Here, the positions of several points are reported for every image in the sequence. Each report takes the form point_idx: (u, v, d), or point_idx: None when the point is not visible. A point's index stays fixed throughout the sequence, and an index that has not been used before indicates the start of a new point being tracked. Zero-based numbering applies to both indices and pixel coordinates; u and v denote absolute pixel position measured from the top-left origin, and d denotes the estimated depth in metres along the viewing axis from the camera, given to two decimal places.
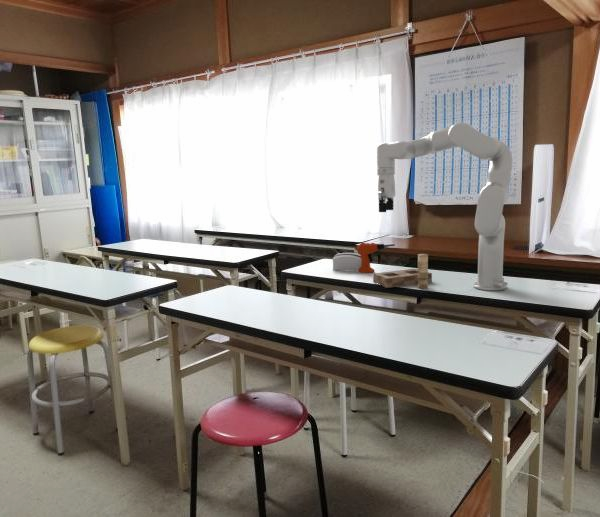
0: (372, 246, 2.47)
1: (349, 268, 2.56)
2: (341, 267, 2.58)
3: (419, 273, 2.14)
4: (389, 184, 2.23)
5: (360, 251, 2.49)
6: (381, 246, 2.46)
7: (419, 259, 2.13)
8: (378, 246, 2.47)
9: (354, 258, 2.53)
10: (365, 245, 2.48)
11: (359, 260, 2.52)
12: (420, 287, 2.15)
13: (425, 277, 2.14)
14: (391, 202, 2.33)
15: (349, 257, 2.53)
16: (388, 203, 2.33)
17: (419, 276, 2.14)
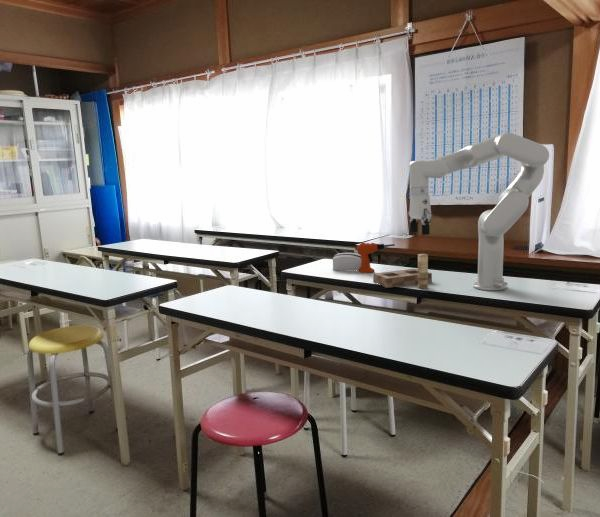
0: (372, 246, 2.47)
1: (349, 268, 2.57)
2: (341, 267, 2.58)
3: (419, 273, 2.14)
4: None
5: (360, 251, 2.49)
6: (381, 246, 2.47)
7: (419, 259, 2.13)
8: (378, 246, 2.47)
9: (354, 258, 2.53)
10: (365, 245, 2.48)
11: (359, 260, 2.52)
12: (420, 287, 2.15)
13: (425, 277, 2.14)
14: (416, 223, 2.18)
15: (349, 257, 2.53)
16: (413, 225, 2.18)
17: (419, 276, 2.14)
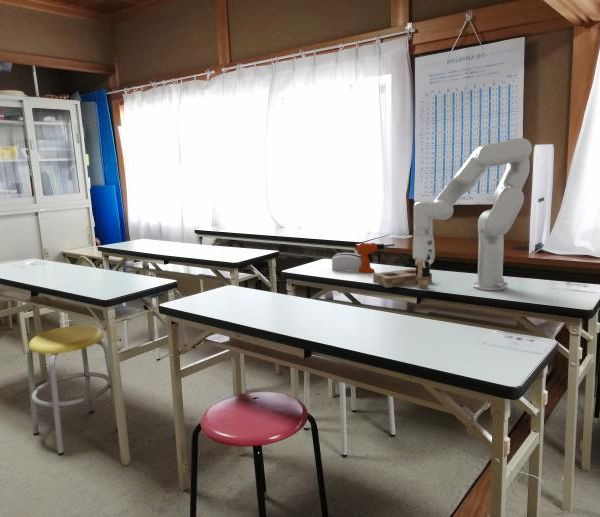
0: (372, 246, 2.47)
1: (348, 268, 2.57)
2: (340, 267, 2.58)
3: (419, 273, 2.14)
4: None
5: (360, 251, 2.49)
6: (381, 246, 2.47)
7: (419, 259, 2.13)
8: (378, 246, 2.47)
9: (353, 258, 2.53)
10: (365, 245, 2.48)
11: (358, 260, 2.52)
12: (420, 287, 2.15)
13: (425, 277, 2.14)
14: None
15: (348, 257, 2.54)
16: None
17: (419, 276, 2.14)
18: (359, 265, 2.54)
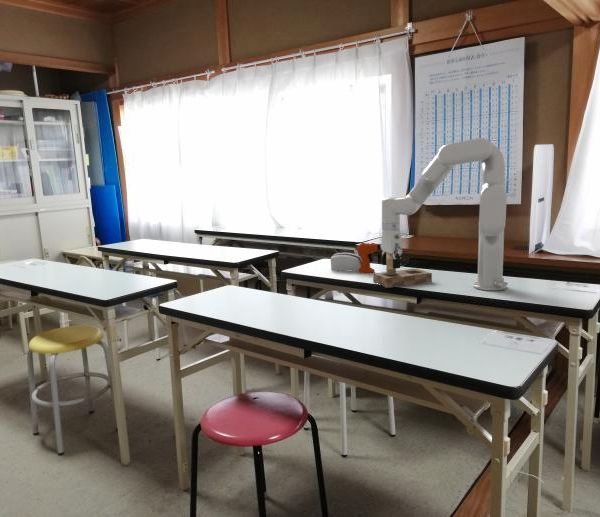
0: (372, 246, 2.47)
1: (346, 268, 2.57)
2: (338, 267, 2.59)
3: (387, 269, 2.24)
4: None
5: (360, 251, 2.49)
6: None
7: (387, 256, 2.23)
8: (378, 246, 2.47)
9: (351, 258, 2.53)
10: (365, 245, 2.48)
11: (355, 260, 2.52)
12: None
13: (393, 273, 2.23)
14: None
15: (346, 257, 2.54)
16: (385, 258, 2.28)
17: (387, 272, 2.24)
18: (357, 265, 2.53)
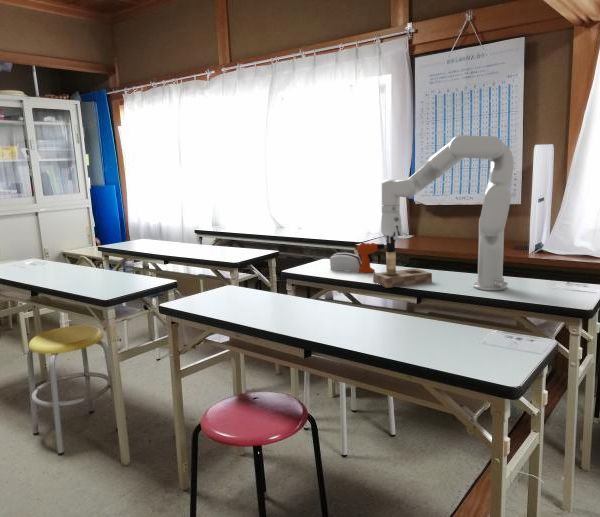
0: (372, 246, 2.47)
1: (345, 268, 2.57)
2: (338, 267, 2.59)
3: (387, 269, 2.24)
4: None
5: (360, 251, 2.48)
6: (381, 246, 2.47)
7: (387, 256, 2.23)
8: (378, 246, 2.47)
9: (349, 258, 2.53)
10: (365, 245, 2.48)
11: (354, 260, 2.52)
12: None
13: (393, 273, 2.23)
14: None
15: (345, 257, 2.54)
16: None
17: (387, 272, 2.24)
18: (356, 265, 2.53)
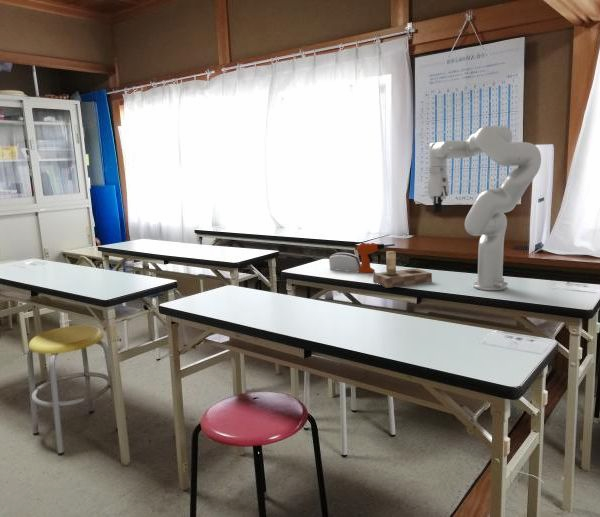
0: (372, 246, 2.47)
1: (344, 268, 2.57)
2: (337, 267, 2.60)
3: (387, 269, 2.24)
4: None
5: (360, 251, 2.48)
6: (381, 246, 2.47)
7: (387, 256, 2.23)
8: (378, 246, 2.47)
9: (348, 258, 2.53)
10: (365, 245, 2.48)
11: (353, 260, 2.52)
12: None
13: (393, 273, 2.23)
14: None
15: (343, 257, 2.54)
16: None
17: (387, 272, 2.24)
18: (354, 265, 2.53)
